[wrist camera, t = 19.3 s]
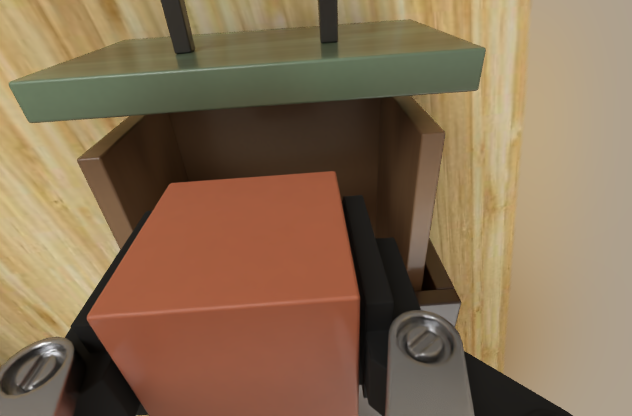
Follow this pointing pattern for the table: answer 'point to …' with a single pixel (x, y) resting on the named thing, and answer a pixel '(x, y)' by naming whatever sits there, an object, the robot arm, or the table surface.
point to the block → (238, 301)
